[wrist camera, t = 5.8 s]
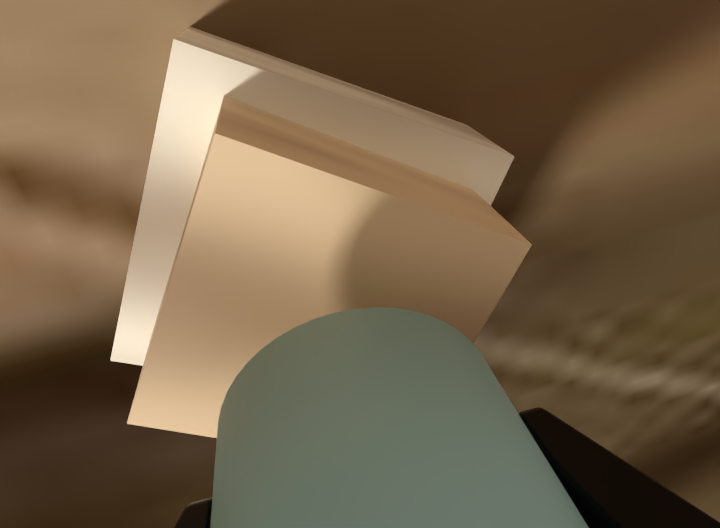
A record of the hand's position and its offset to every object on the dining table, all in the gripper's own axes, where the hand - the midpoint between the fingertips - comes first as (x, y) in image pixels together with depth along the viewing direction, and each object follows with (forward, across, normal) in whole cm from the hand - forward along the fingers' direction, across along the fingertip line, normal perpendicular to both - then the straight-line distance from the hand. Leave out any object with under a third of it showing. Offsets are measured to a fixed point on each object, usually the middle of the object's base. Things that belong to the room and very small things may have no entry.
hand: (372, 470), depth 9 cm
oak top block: (+7, 0, 0) cm, 7 cm away
